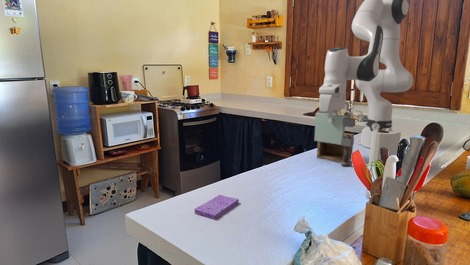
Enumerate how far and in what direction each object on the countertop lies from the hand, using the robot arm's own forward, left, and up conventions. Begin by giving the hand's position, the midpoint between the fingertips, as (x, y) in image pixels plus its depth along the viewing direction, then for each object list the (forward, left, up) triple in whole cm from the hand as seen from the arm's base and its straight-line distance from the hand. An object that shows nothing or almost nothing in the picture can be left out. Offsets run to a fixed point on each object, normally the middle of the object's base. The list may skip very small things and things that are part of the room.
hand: (332, 121), depth 131 cm
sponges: (+63, -8, -18) cm, 67 cm away
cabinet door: (0, +1, -9) cm, 9 cm away
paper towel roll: (+27, +26, -18) cm, 42 cm away
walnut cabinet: (-5, +1, -18) cm, 19 cm away
